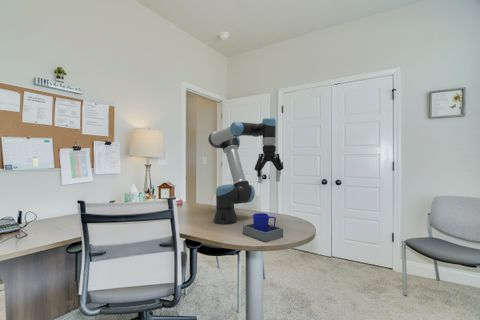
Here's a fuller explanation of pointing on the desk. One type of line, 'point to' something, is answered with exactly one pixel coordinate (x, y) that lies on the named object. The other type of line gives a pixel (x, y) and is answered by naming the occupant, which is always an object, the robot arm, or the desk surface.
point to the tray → (263, 233)
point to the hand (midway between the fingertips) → (269, 182)
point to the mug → (262, 222)
